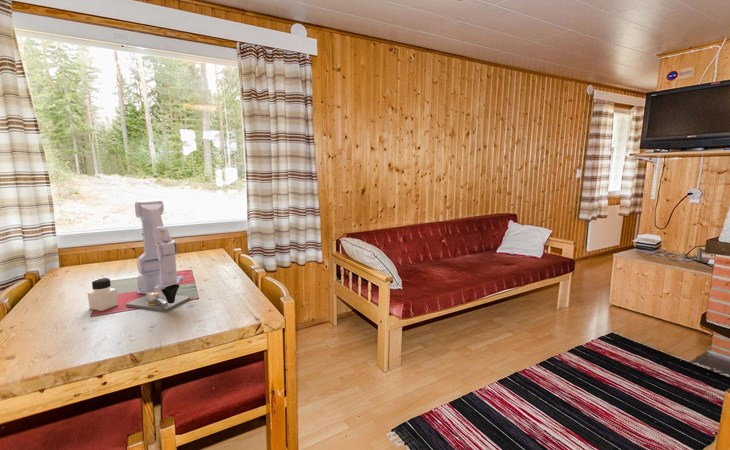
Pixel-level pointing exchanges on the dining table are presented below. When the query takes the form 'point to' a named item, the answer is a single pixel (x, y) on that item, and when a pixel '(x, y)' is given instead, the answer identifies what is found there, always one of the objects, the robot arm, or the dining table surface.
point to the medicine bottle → (102, 295)
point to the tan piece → (156, 298)
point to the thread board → (143, 303)
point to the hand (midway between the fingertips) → (171, 302)
